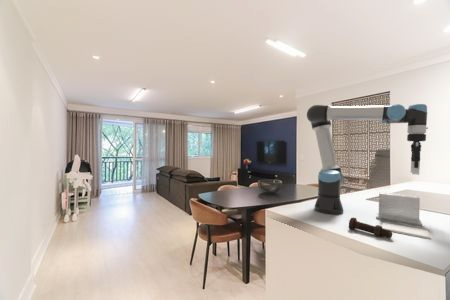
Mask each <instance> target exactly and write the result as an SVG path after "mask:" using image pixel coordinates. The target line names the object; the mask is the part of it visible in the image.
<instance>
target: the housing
mask: <svg viewBox="0 0 450 300" xmlns="http://www.w3.org/2000/svg"><path fill="white" fill-rule="evenodd" d="M420 200H421V198H420V196H418V195H417V196H416V195H408V194H402V193H401V194H399V193H391V192H381V191H380V192H378V212H377V213H376V215H375V219H376V220H381V221H385V222H392V223H398V224H404V225H409V226H414V227H415V226H417V227H420V228H421V227H423V223H422V221H421V219H420V202H421V201H420Z"/></svg>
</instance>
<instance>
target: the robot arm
mask: <svg viewBox="0 0 450 300" xmlns="http://www.w3.org/2000/svg"><path fill="white" fill-rule="evenodd" d="M306 118H307V120H308V121H309V122H310V124H311V130H312V131H314V132H315V136H316V142H317V146H318V150H319V156H320V160H321V169H320V171H319V172H318V175H317V180H318V182H317V183H318V186H317V188H318V189H317V198H316V201H315V204H314V211H316V212H319V213H323V214H329V215H330V214H331V215H341V214H344V207H343V203H342V201H341V188H342V187H343V185H344V182H345V178H344V175H343V174H342V169H341V166H339V165H338V163H337V159H336V154H335V149H334V148H335V147H334V144H333V140H332V135H331V129H330V128H331V127H332V121H333V120H334V121H337V120H338V121H380V123H381V124H407V131H406V132H407V134H406V135H407V136H406V137H407V138H406V141H407V142H412V144H410V148H411V149H410V151H411V152H410V153H411V157H410V160H411V161H410V173H411V174H412V175H417V176H419V175H420V165H421V163H420V162H421V151H422V143H421V142H426V140H427V134H426V133H427V130H428V126H427V123H428V106H427V104H424V103H415V104H411V105H409V106H408V108H405V106H404V105H402V104H398V103H397V104H392V105H365V106H364V105H362V106H361V105H360V106H359V105H356V106H355V105H352V106H332V105H330V104H313V105H311V106H310V107H309V108H308V110H307V112H306ZM331 120H332V121H331Z"/></svg>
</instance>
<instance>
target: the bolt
mask: <svg viewBox="0 0 450 300" xmlns="http://www.w3.org/2000/svg"><path fill="white" fill-rule="evenodd" d="M348 221H349V222H348V228H349V230H351V231H354V230H358V231H363V232H366V233H370V234H373V235H374V237H377V238H381V237H382V238H387V239H389V240H390V239H392V236H393V232H392V231H389V230H386V229H382V225H378V224H377V225H376V224H375V226H374V225H371V224H369V223H365V222H362V221H361V222H360V221H358V219H357V218H356V217H350V219H349V220H348Z"/></svg>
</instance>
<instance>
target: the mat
mask: <svg viewBox="0 0 450 300" xmlns="http://www.w3.org/2000/svg"><path fill="white" fill-rule="evenodd" d="M381 226H382V229H386V230H389V231H392V233H397V234H401V235H408V236H412V237H413V236H414V237H416V238H417V237H418V238H422V239H428V240H431V239H432V237H431V234H430V233H429V230H427V229H421V228H416V227H412V226H411V227H410V226H404V225H399V224H395V223H388V222H382V225H381Z"/></svg>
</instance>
